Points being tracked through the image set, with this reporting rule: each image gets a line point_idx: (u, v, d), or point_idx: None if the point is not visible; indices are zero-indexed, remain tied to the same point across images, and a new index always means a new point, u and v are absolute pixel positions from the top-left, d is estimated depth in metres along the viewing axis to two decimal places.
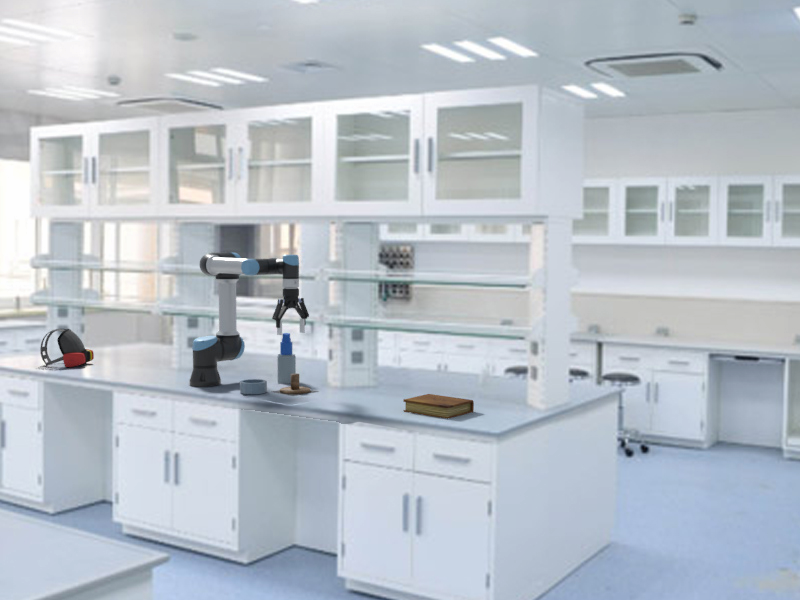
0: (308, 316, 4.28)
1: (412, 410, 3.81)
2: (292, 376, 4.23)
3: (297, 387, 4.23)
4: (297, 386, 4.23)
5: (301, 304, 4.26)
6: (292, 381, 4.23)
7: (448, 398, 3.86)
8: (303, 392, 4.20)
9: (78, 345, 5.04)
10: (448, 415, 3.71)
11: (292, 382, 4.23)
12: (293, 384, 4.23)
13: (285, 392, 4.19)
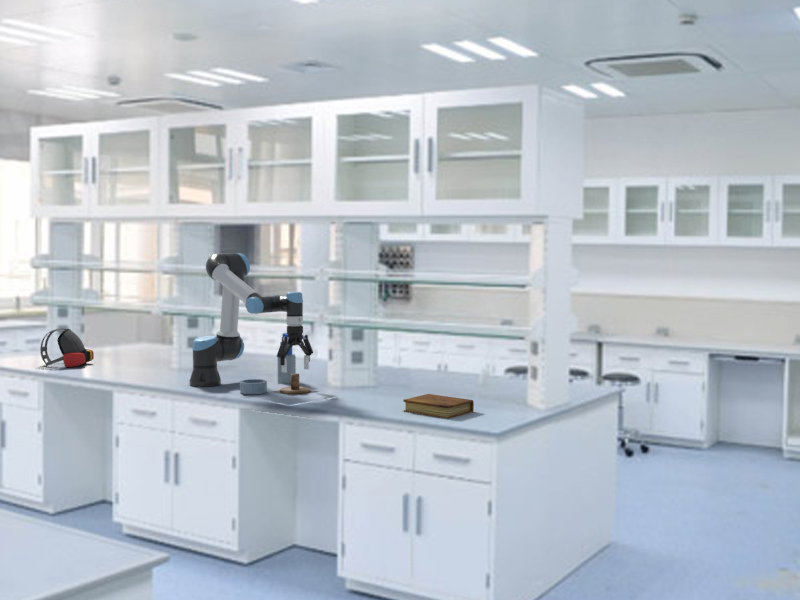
0: (312, 352, 4.30)
1: (412, 410, 3.81)
2: (292, 376, 4.23)
3: (297, 387, 4.23)
4: (297, 386, 4.23)
5: (305, 341, 4.27)
6: (292, 381, 4.23)
7: (448, 398, 3.86)
8: (303, 392, 4.20)
9: (78, 345, 5.04)
10: (448, 415, 3.71)
11: (292, 382, 4.23)
12: (293, 384, 4.23)
13: (285, 392, 4.19)
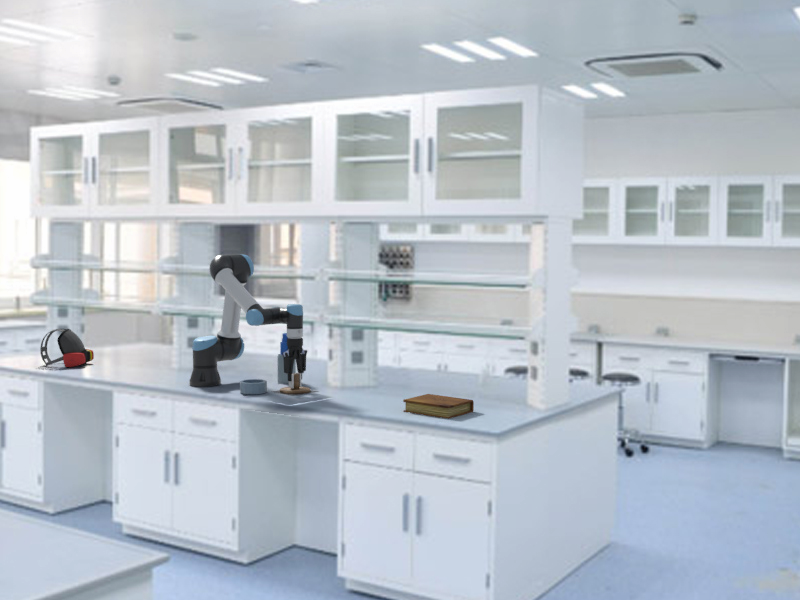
0: (304, 370, 4.27)
1: (412, 410, 3.81)
2: None
3: (297, 387, 4.23)
4: (297, 386, 4.23)
5: (303, 356, 4.27)
6: None
7: (448, 398, 3.86)
8: (303, 392, 4.20)
9: (78, 345, 5.04)
10: (449, 415, 3.71)
11: None
12: None
13: (285, 392, 4.19)
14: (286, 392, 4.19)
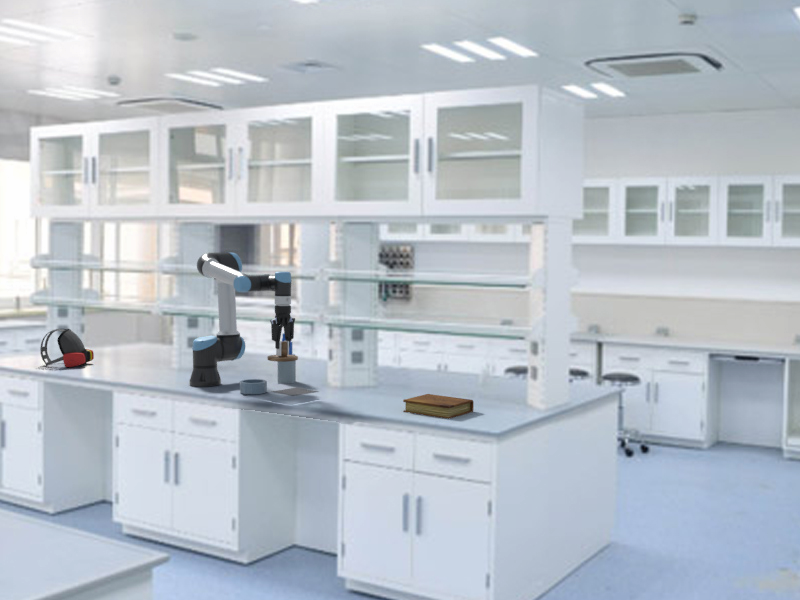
0: (292, 338, 4.26)
1: (412, 410, 3.81)
2: None
3: (285, 355, 4.22)
4: (285, 354, 4.22)
5: (290, 324, 4.25)
6: None
7: (448, 398, 3.86)
8: (291, 359, 4.18)
9: (78, 345, 5.04)
10: (449, 415, 3.71)
11: None
12: (281, 351, 4.21)
13: (273, 359, 4.17)
14: (274, 359, 4.17)
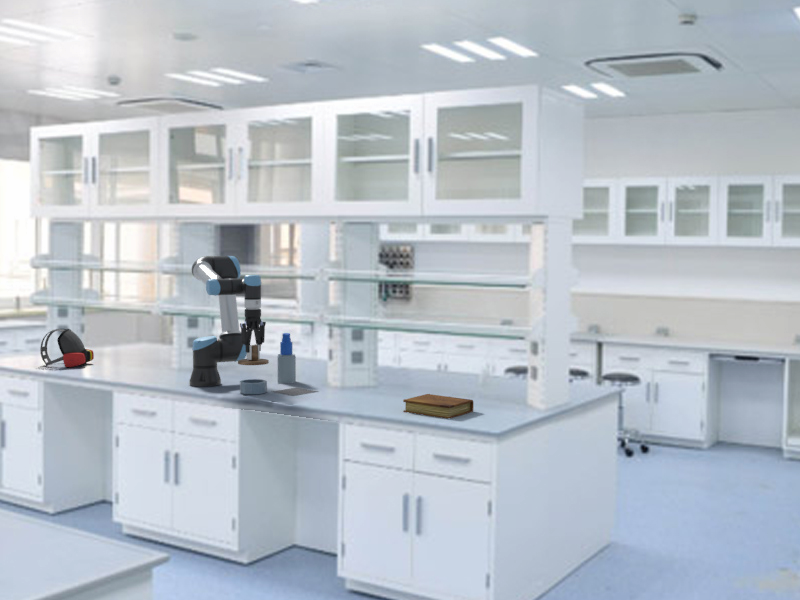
0: (263, 342, 4.23)
1: (412, 410, 3.81)
2: None
3: (255, 358, 4.19)
4: (255, 357, 4.19)
5: (261, 327, 4.23)
6: None
7: (448, 398, 3.86)
8: (261, 363, 4.16)
9: (78, 345, 5.04)
10: (449, 415, 3.71)
11: None
12: None
13: (243, 363, 4.15)
14: (244, 363, 4.15)
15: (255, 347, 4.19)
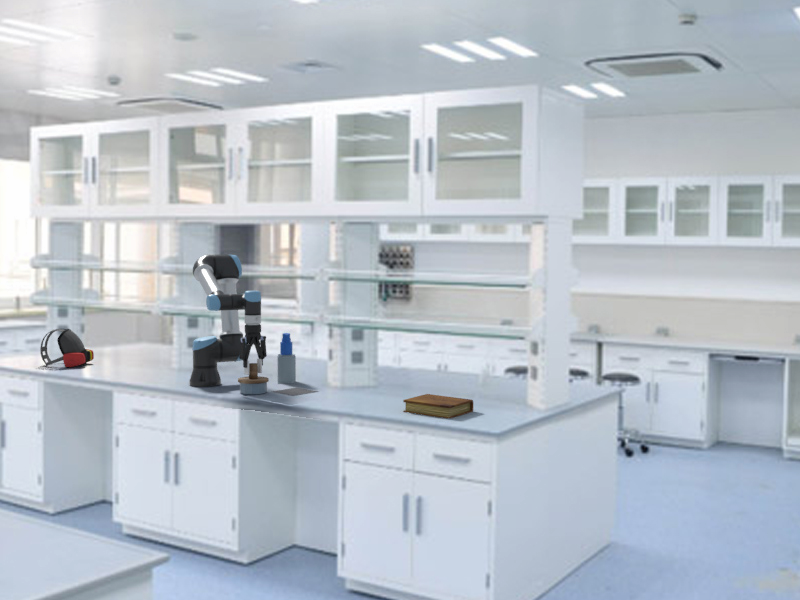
0: (265, 356, 4.25)
1: (412, 410, 3.80)
2: (250, 366, 4.20)
3: (255, 377, 4.20)
4: (255, 376, 4.20)
5: (262, 342, 4.24)
6: (250, 371, 4.20)
7: (448, 398, 3.86)
8: (261, 382, 4.16)
9: (78, 345, 5.04)
10: (449, 415, 3.71)
11: (250, 372, 4.20)
12: (251, 373, 4.20)
13: (243, 382, 4.16)
14: (244, 382, 4.16)
15: (255, 365, 4.20)
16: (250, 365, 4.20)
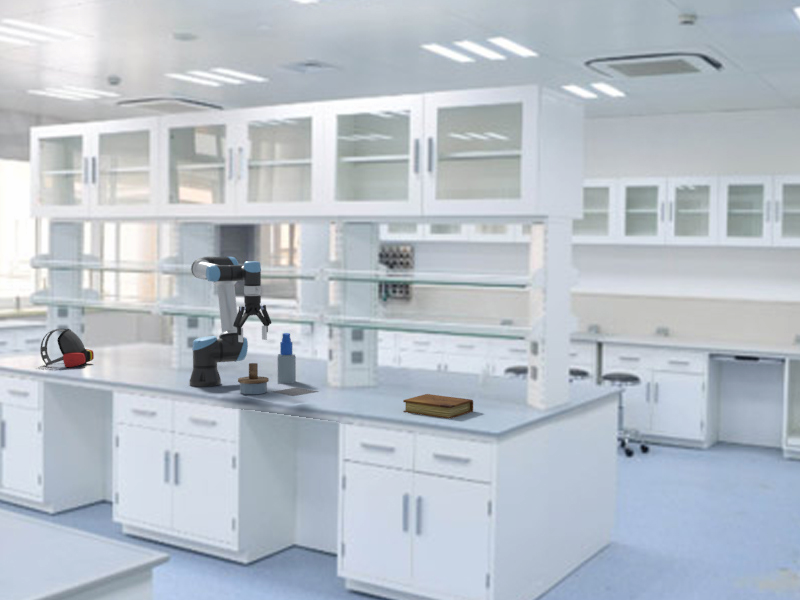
0: (270, 323, 4.27)
1: (412, 410, 3.80)
2: (250, 366, 4.20)
3: (255, 377, 4.20)
4: (255, 376, 4.20)
5: (263, 311, 4.24)
6: (250, 371, 4.20)
7: (447, 398, 3.86)
8: (261, 382, 4.16)
9: (78, 345, 5.04)
10: (450, 415, 3.71)
11: (250, 372, 4.20)
12: (251, 373, 4.20)
13: (243, 382, 4.16)
14: (244, 382, 4.16)
15: (255, 365, 4.20)
16: (250, 365, 4.20)
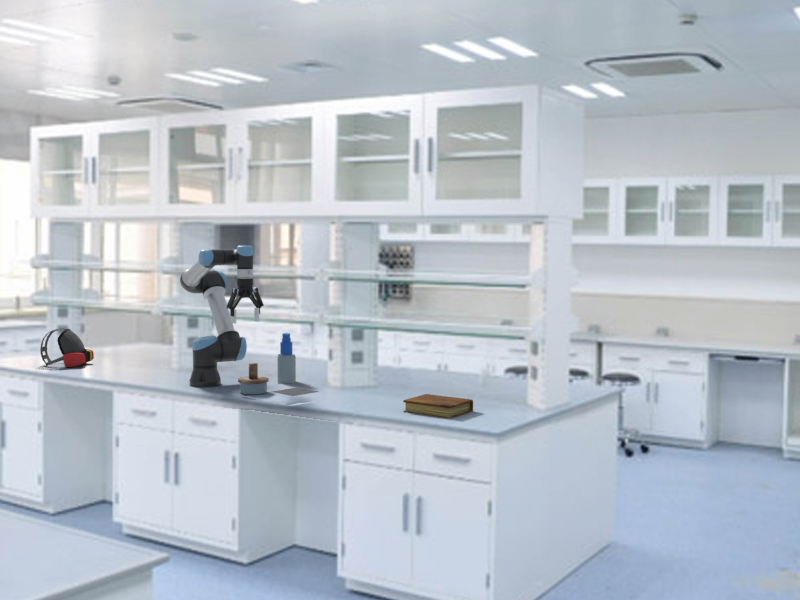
0: (263, 305, 4.42)
1: (412, 410, 3.80)
2: (250, 366, 4.20)
3: (255, 377, 4.20)
4: (255, 376, 4.20)
5: (255, 294, 4.40)
6: (250, 371, 4.20)
7: (447, 398, 3.86)
8: (261, 382, 4.16)
9: (78, 345, 5.04)
10: (450, 415, 3.71)
11: (250, 372, 4.20)
12: (251, 373, 4.20)
13: (243, 382, 4.16)
14: (244, 382, 4.16)
15: (255, 365, 4.20)
16: (250, 365, 4.20)
